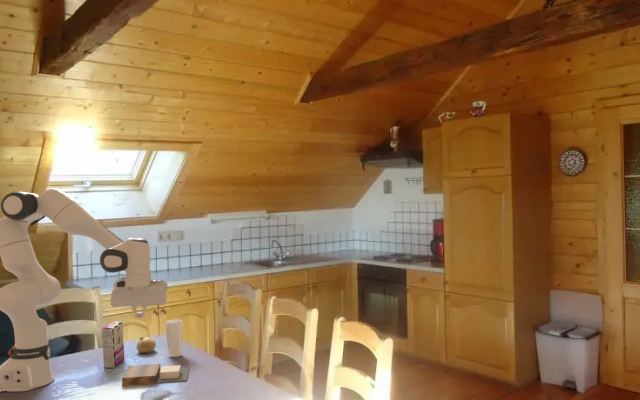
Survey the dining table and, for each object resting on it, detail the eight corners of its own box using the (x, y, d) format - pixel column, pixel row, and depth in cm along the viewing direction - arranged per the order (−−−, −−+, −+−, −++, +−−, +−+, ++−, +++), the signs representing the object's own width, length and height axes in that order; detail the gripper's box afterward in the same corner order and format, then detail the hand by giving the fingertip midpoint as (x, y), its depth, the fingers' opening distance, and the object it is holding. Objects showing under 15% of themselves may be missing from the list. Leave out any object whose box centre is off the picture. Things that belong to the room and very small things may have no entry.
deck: (122, 386, 207) (121, 378, 207) (128, 373, 221) (128, 365, 221) (156, 383, 209) (156, 375, 209) (160, 371, 223) (160, 363, 223)
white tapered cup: (166, 354, 244) (165, 319, 244) (182, 352, 246) (181, 318, 246) (167, 359, 238) (166, 323, 237) (183, 357, 240) (182, 322, 239)
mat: (156, 383, 209) (156, 382, 209) (160, 371, 223) (160, 370, 223) (186, 381, 211) (186, 379, 211) (189, 368, 225) (189, 367, 225)
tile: (159, 379, 212) (159, 372, 212) (162, 372, 219) (161, 366, 219) (179, 377, 213) (178, 371, 213) (180, 371, 220) (180, 365, 220)
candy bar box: (112, 359, 239) (111, 321, 238) (124, 359, 239) (123, 320, 238) (102, 368, 228) (101, 328, 227) (115, 368, 228) (113, 327, 227)
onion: (151, 348, 254) (150, 332, 254) (158, 352, 248) (158, 336, 248) (134, 352, 249) (133, 336, 249) (141, 356, 243) (140, 339, 243)
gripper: (168, 278, 218) (168, 313, 219) (112, 280, 215) (113, 316, 215) (166, 281, 212) (167, 317, 213) (109, 283, 209) (110, 320, 209)
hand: (139, 317), depth 214 cm, fingers closed
